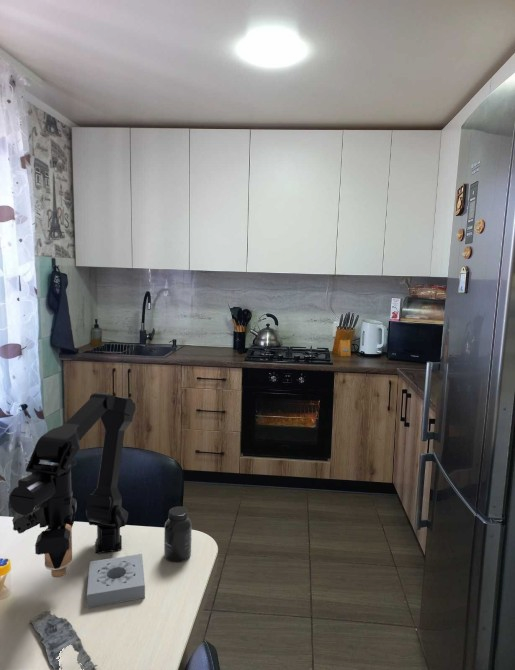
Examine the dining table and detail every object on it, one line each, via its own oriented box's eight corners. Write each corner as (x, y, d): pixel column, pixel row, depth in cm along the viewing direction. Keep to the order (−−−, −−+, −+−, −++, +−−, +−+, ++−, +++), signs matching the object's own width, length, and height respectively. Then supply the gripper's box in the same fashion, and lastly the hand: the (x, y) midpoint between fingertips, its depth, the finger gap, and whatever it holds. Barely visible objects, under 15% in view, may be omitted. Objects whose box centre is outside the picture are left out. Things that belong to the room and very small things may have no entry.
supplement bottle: (159, 560, 113) (159, 515, 112) (171, 545, 120) (171, 502, 118) (185, 565, 111) (185, 519, 110) (195, 549, 118) (195, 506, 117)
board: (90, 573, 107) (90, 561, 107) (142, 565, 111) (142, 553, 111) (87, 607, 96) (86, 594, 96) (144, 597, 99) (144, 585, 99)
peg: (46, 567, 101) (45, 525, 100) (73, 563, 103) (73, 522, 102) (43, 583, 96) (41, 538, 95) (71, 578, 97) (70, 535, 96)
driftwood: (27, 622, 92) (27, 613, 92) (61, 607, 97) (61, 598, 96) (58, 694, 77) (58, 683, 76) (97, 673, 81) (97, 662, 81)
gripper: (24, 478, 104) (26, 542, 105) (5, 518, 86) (7, 594, 88) (76, 473, 107) (77, 535, 109) (68, 511, 89) (69, 584, 91)
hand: (58, 560), depth 99 cm, fingers closed on peg, 5 cm apart
